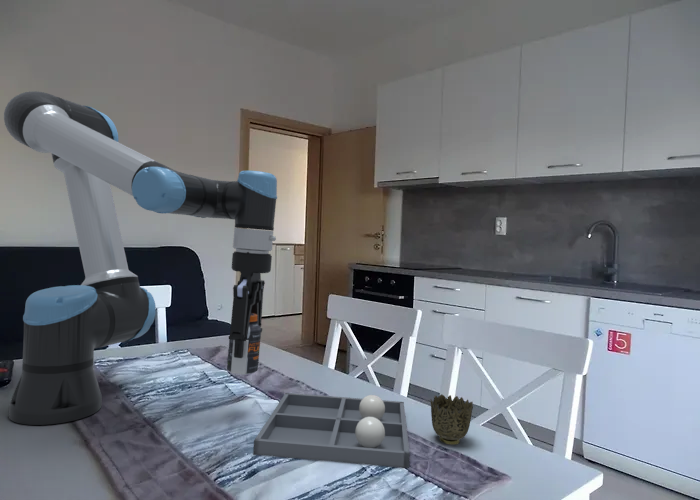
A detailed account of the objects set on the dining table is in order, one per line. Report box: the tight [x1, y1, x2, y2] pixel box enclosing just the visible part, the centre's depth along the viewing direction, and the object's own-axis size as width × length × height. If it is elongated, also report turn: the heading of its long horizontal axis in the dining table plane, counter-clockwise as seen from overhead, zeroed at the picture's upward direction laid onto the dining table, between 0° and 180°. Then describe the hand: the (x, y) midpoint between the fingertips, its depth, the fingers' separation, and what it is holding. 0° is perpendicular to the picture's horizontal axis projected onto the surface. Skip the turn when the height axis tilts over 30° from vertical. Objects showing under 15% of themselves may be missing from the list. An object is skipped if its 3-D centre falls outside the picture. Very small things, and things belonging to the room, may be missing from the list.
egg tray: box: [252, 392, 411, 469], centre depth 88 cm, size 24×24×3 cm
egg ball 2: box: [355, 417, 385, 448], centre depth 81 cm, size 5×5×5 cm
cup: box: [430, 394, 474, 446], centre depth 86 cm, size 8×7×8 cm
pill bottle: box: [226, 313, 262, 375], centre depth 95 cm, size 6×6×11 cm
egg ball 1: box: [359, 394, 385, 420], centre depth 93 cm, size 5×5×5 cm
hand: (243, 368), depth 95 cm, fingers closed on pill bottle, 6 cm apart
